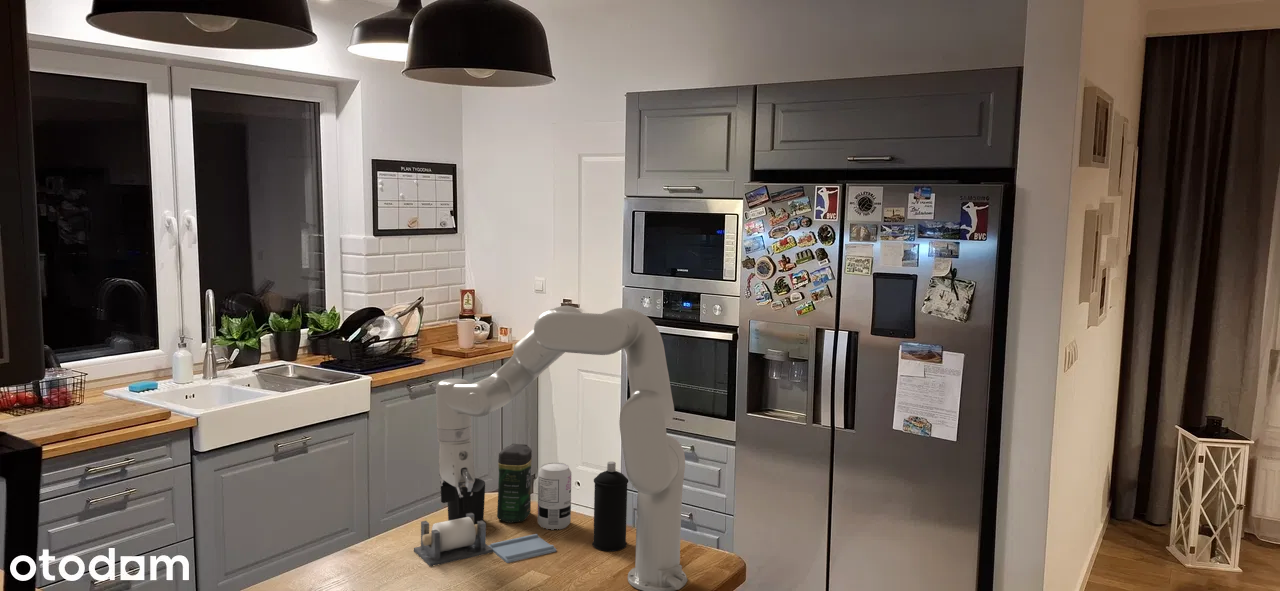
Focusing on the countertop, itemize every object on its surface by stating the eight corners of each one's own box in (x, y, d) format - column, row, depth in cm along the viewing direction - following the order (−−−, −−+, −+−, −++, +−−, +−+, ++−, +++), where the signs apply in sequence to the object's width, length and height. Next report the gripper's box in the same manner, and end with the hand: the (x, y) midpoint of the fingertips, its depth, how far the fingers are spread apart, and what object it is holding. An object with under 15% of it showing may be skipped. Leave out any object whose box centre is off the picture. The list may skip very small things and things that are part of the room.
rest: (536, 537, 207) (536, 532, 207) (556, 551, 199) (556, 546, 199) (487, 548, 200) (488, 542, 200) (506, 563, 192) (507, 557, 192)
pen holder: (448, 515, 220) (448, 477, 219) (486, 515, 221) (486, 477, 220) (444, 529, 211) (444, 489, 210) (483, 528, 212) (484, 489, 211)
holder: (474, 538, 206) (474, 509, 205) (492, 552, 198) (492, 523, 197) (413, 551, 197) (413, 521, 197) (430, 566, 189) (430, 535, 188)
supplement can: (533, 521, 218) (534, 463, 216) (564, 517, 221) (565, 460, 220) (543, 532, 210) (544, 473, 209) (575, 528, 214) (576, 469, 212)
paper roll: (476, 537, 204) (476, 511, 203) (487, 546, 199) (487, 519, 198) (419, 549, 196) (419, 522, 195) (429, 558, 191) (429, 531, 190)
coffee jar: (524, 524, 215) (525, 452, 213) (493, 522, 216) (494, 450, 215) (534, 511, 225) (535, 442, 223) (505, 509, 226) (505, 440, 224)
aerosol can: (631, 549, 202) (634, 466, 200) (598, 553, 199) (600, 469, 197) (619, 536, 209) (621, 456, 207) (587, 540, 206) (589, 459, 204)
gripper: (485, 439, 190) (487, 514, 191) (455, 424, 204) (456, 494, 205) (453, 444, 185) (455, 521, 187) (424, 428, 200) (426, 500, 201)
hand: (456, 507), depth 196 cm, fingers open, 9 cm apart
